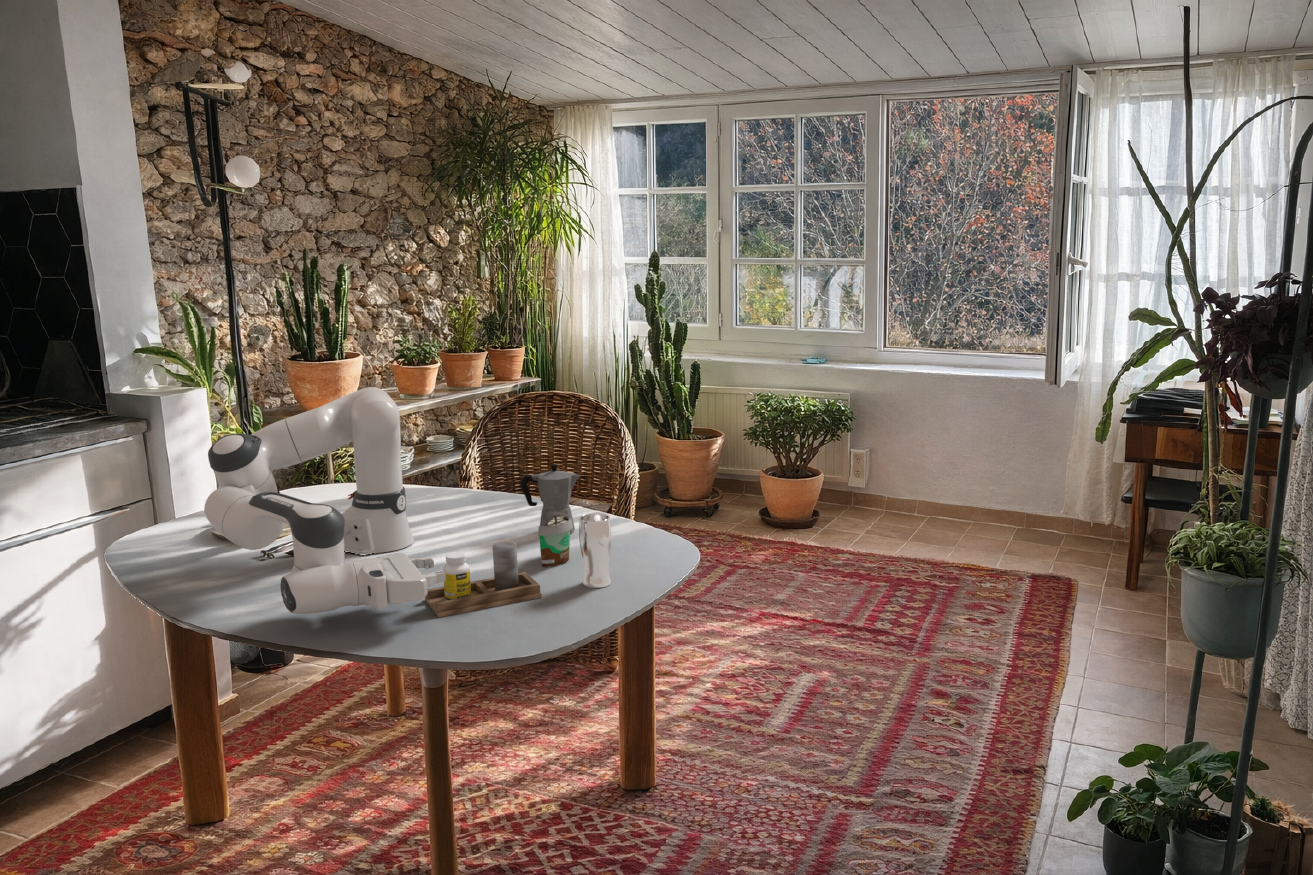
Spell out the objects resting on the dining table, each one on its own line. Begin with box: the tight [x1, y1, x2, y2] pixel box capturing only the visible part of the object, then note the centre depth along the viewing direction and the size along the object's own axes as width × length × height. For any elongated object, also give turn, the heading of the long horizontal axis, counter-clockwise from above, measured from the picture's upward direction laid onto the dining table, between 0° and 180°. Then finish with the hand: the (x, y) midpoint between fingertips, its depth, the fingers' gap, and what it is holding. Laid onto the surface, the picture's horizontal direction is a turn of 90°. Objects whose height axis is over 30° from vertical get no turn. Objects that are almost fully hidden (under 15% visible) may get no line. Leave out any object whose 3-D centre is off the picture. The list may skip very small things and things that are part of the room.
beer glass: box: [578, 512, 612, 589], centre depth 208 cm, size 7×7×15 cm
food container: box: [537, 513, 573, 568], centre depth 224 cm, size 12×6×10 cm, turn 168°
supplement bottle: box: [442, 551, 471, 601], centre depth 199 cm, size 5×5×10 cm
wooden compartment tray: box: [424, 541, 543, 618], centre depth 201 cm, size 22×11×11 cm, turn 117°
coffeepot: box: [519, 463, 582, 535], centre depth 245 cm, size 15×9×18 cm, turn 103°
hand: (438, 569), depth 196 cm, fingers open, 8 cm apart
